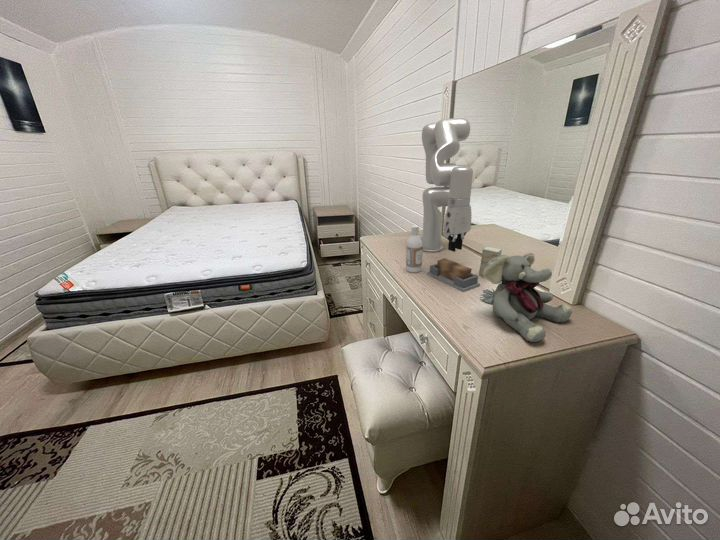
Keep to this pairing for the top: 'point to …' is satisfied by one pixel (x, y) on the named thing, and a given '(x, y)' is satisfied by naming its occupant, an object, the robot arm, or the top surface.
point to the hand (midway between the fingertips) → (454, 249)
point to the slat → (453, 269)
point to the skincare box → (488, 257)
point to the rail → (455, 280)
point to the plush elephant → (521, 295)
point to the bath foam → (414, 251)
